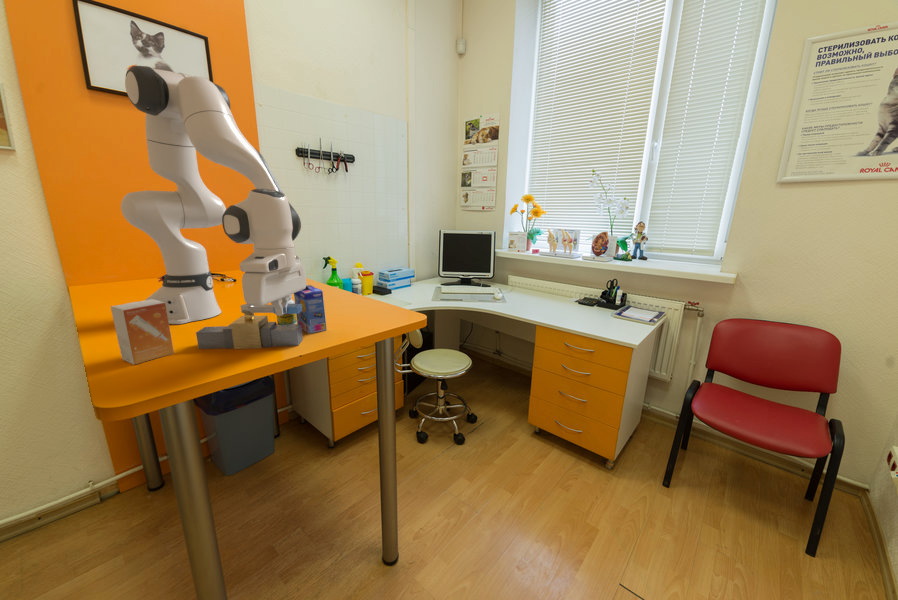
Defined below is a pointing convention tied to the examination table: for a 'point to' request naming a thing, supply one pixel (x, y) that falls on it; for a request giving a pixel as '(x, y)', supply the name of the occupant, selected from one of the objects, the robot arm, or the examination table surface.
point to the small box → (142, 330)
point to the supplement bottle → (287, 316)
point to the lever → (270, 309)
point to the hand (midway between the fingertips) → (281, 314)
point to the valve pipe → (249, 334)
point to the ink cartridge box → (311, 309)
